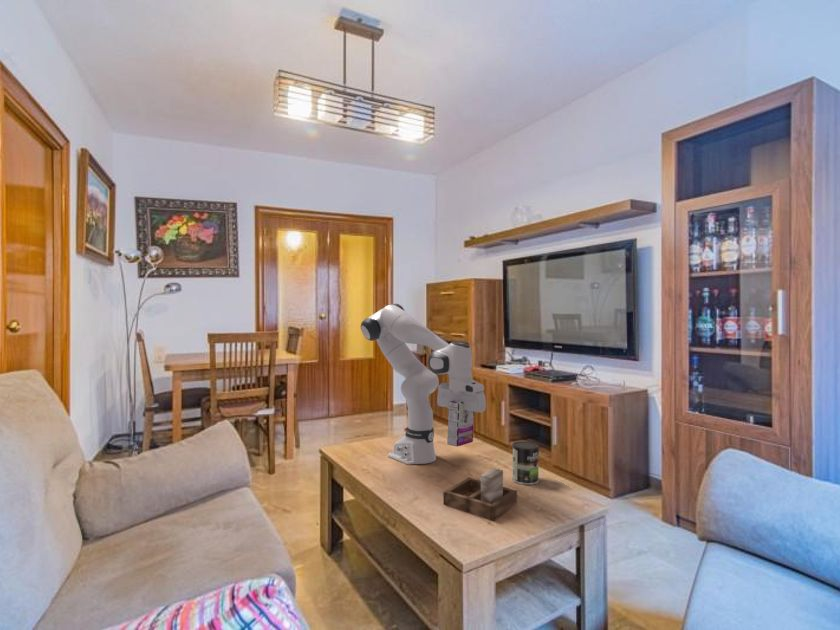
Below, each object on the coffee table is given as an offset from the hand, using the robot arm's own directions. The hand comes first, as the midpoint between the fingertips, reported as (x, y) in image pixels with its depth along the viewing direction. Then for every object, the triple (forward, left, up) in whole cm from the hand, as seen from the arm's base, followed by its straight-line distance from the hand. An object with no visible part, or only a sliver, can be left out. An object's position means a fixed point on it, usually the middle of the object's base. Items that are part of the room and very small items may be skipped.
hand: (460, 420), depth 177 cm
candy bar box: (0, -1, -9) cm, 9 cm away
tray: (+14, -9, -25) cm, 30 cm away
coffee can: (+17, +21, -26) cm, 37 cm away
